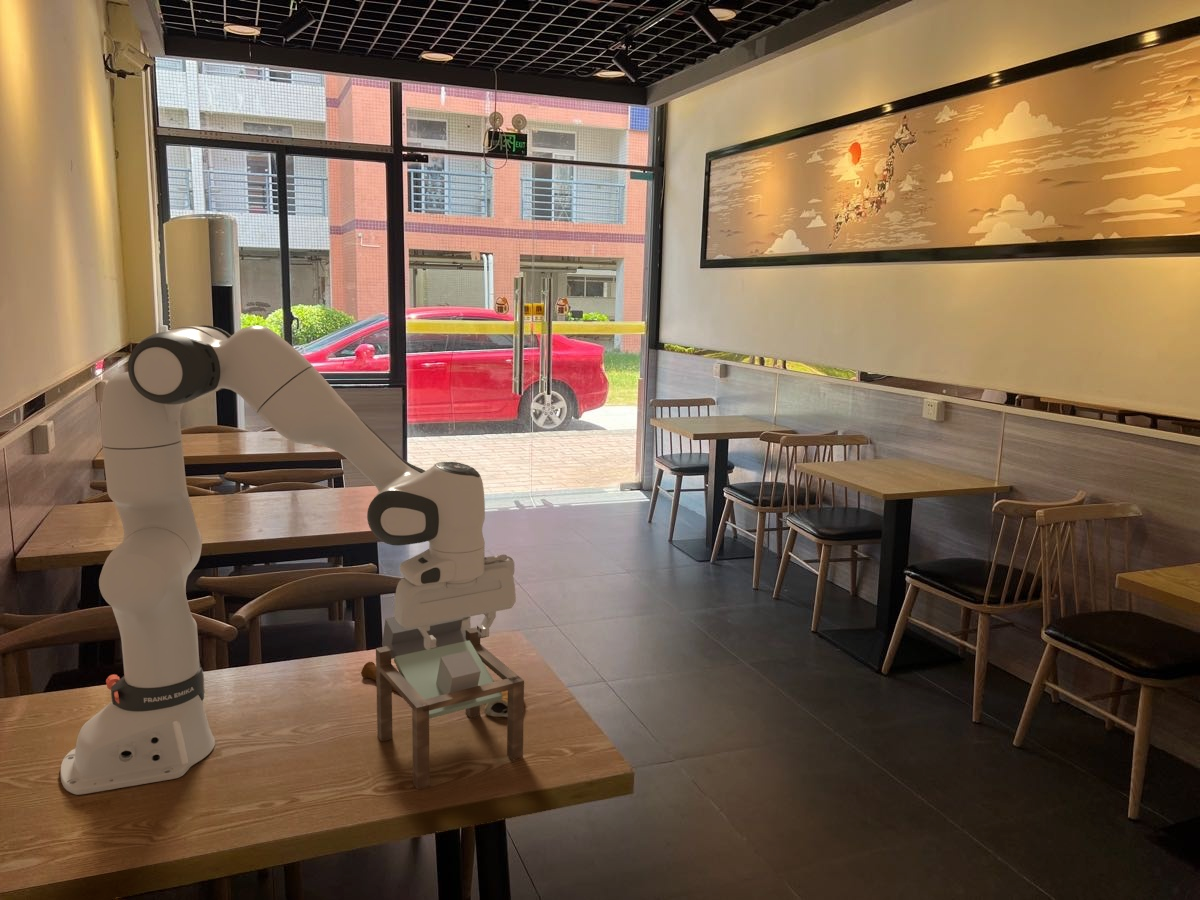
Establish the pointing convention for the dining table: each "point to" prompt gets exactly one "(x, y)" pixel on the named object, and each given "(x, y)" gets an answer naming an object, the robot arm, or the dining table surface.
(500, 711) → the pastry
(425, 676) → the trapdoor
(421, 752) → the stand
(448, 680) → the light grey block
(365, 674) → the primitive tool
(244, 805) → the dining table surface
